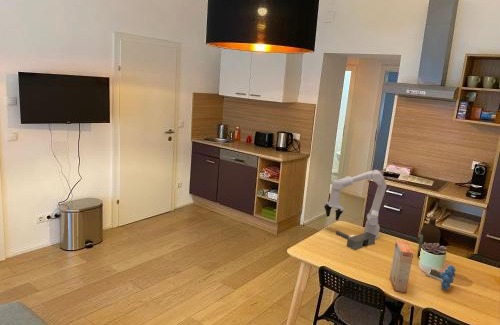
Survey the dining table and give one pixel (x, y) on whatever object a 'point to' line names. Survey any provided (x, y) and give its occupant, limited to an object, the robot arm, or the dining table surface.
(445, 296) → the dining table surface
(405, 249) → the cracker box
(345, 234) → the plug
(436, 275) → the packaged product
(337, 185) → the robot arm
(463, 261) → the dining table surface
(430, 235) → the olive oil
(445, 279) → the grapes
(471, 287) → the dining table surface
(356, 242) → the housing
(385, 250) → the dining table surface
